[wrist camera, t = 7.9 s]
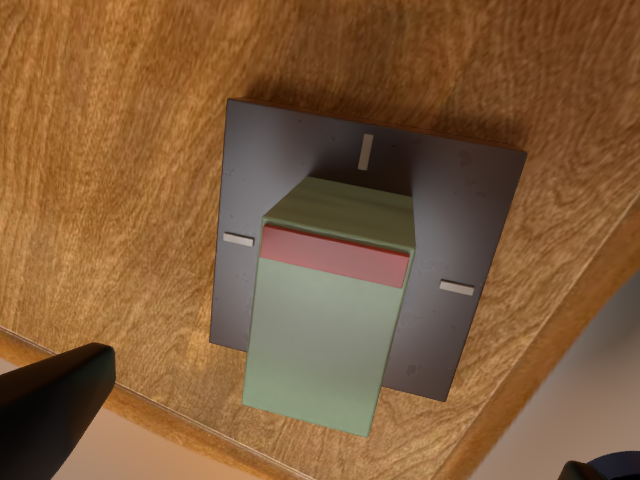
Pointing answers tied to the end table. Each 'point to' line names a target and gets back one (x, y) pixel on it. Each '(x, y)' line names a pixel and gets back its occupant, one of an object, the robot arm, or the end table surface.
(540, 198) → the end table surface
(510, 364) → the end table surface
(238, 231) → the plate
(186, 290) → the end table surface
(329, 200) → the box
